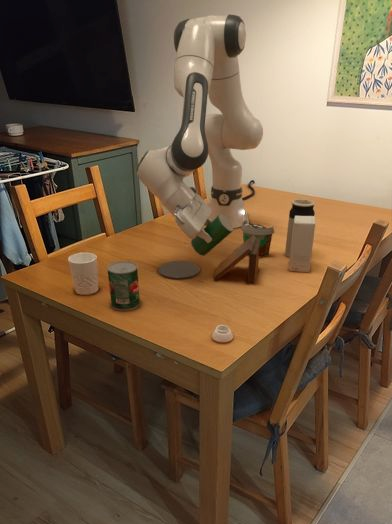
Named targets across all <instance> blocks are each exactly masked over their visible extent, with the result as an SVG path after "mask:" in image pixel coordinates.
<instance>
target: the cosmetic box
mask: <svg viewBox="0 0 392 524" xmlns="http://www.w3.org/2000/svg"><path fill="white" fill-rule="evenodd" d="M315 229H316V216H315V215H314V216H295V218H294V225H293V233H292V243H291V254H290V257H289V271H290V272H298V273H299V272H301V273H310V270H311V262H312V255H313V247H314V246H313V245H314V237H315Z"/></svg>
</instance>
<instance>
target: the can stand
mask: <svg viewBox="0 0 392 524" xmlns="http://www.w3.org/2000/svg"><path fill="white" fill-rule="evenodd" d="M255 239H256V237H255V236H254V235H252V236H251V237H250V238H249V239H248V240H246V241H245V242H244V243H243V242H242V244H240V245H238V247H237V248H235V250H233V251H232V252H230V254H228V255H227V256H226V257H225V258H224V259H223V260H222V261H220V262H219V264H218V267H217V268H216V271H215V273H214V275H213V280H214V281H218V280H219V279H220V278H221V277H223V276H224V275H225V274H227V272H229V271H230V270H231V269H232V268H234V267H235V266H236V265H237V264H238V263H239V262H241V261H242V260H243V259H245V258H246V257H247V256H248V268H247V269H248V270H247V271H248V272H247V285H255V282H256V279H257V275H258V272H259V265H260V264H259V263H260V257H259V252H260V240H255ZM249 253H250V254H249ZM248 254H249V255H248Z"/></svg>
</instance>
